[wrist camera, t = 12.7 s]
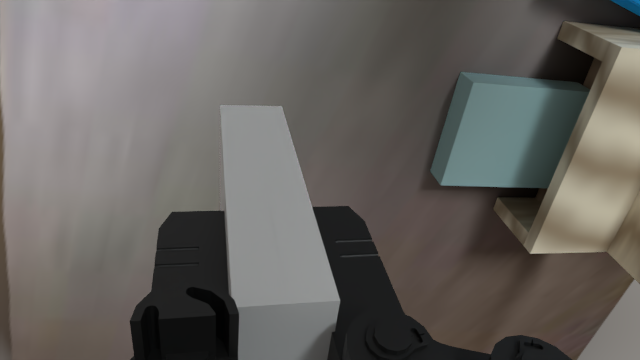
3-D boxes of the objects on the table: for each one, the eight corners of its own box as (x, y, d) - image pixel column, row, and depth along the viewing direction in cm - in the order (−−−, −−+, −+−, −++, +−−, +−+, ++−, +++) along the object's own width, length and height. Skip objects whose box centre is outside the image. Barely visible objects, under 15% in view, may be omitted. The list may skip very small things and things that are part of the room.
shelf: (563, 20, 43) (672, 69, 33) (656, 30, 46) (783, 78, 36) (493, 209, 53) (560, 290, 43) (572, 209, 56) (653, 285, 46)
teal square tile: (458, 69, 44) (473, 82, 42) (574, 80, 47) (595, 92, 45) (428, 168, 49) (440, 185, 47) (535, 172, 52) (552, 188, 50)
